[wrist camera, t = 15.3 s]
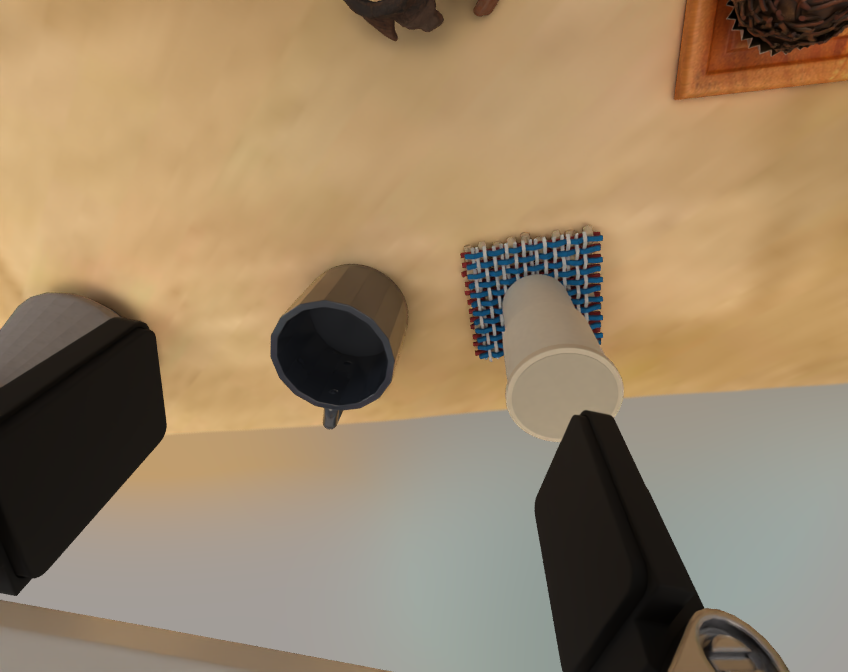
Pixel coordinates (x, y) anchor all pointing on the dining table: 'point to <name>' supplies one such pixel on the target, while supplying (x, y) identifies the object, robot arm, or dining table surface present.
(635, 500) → the robot arm
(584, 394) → the paper cup
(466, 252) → the woven mat
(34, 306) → the coffee pot
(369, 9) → the broken brown clay pot
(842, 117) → the dining table surface
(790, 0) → the chocolate cupcake tray
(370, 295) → the mug
